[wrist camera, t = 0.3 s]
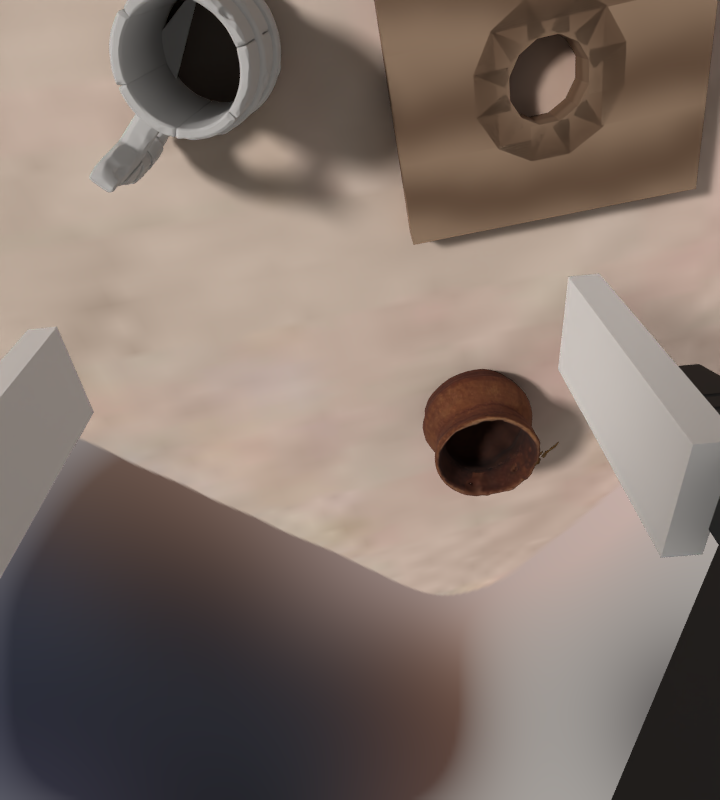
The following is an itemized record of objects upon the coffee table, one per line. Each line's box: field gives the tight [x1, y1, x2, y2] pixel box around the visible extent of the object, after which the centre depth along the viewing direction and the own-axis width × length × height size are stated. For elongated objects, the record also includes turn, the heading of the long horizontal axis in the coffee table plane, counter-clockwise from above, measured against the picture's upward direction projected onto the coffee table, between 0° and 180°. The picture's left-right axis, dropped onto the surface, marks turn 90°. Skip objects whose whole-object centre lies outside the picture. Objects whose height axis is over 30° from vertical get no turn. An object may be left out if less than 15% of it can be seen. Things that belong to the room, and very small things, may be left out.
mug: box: [90, 0, 281, 192], centre depth 31 cm, size 8×12×12 cm, turn 139°
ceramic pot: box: [423, 369, 559, 496], centre depth 48 cm, size 18×18×7 cm
